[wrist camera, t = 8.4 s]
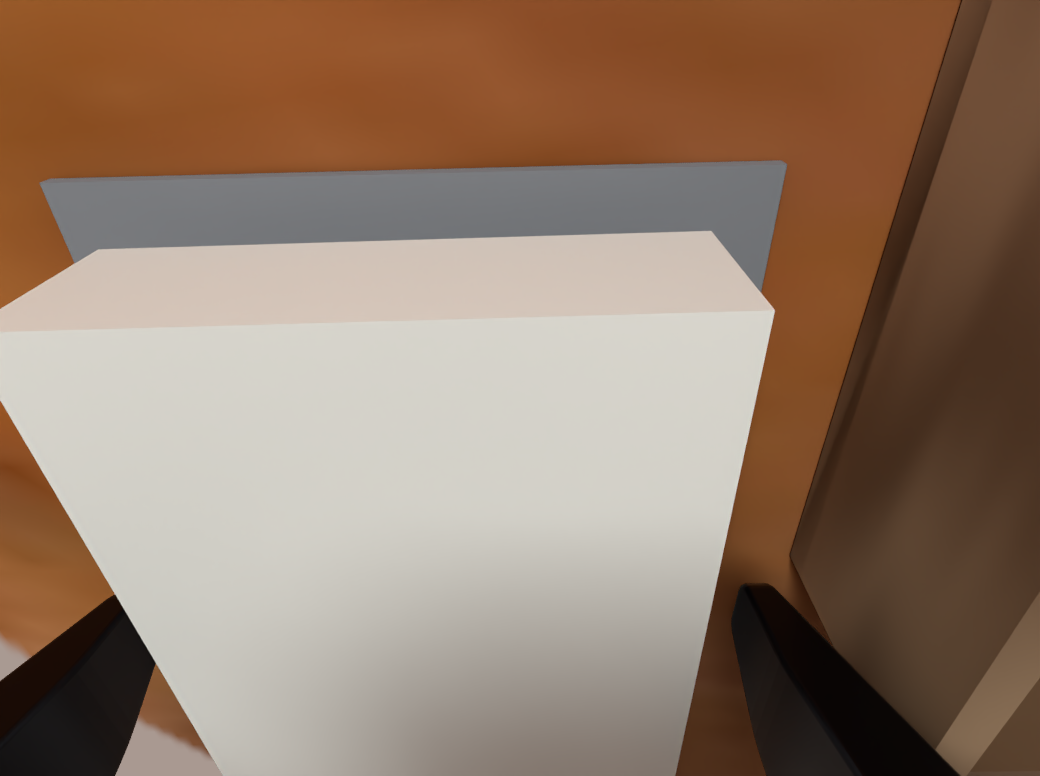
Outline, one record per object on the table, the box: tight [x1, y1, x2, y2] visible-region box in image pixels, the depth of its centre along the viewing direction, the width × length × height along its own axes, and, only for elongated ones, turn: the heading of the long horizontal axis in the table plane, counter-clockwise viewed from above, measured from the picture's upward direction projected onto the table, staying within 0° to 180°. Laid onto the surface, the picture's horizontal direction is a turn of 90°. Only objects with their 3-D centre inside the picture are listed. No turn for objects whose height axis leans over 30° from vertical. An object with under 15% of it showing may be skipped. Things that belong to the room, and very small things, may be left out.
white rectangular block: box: [0, 231, 775, 776], centre depth 9 cm, size 11×7×3 cm, turn 2°
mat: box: [40, 160, 787, 292], centre depth 11 cm, size 12×9×1 cm
